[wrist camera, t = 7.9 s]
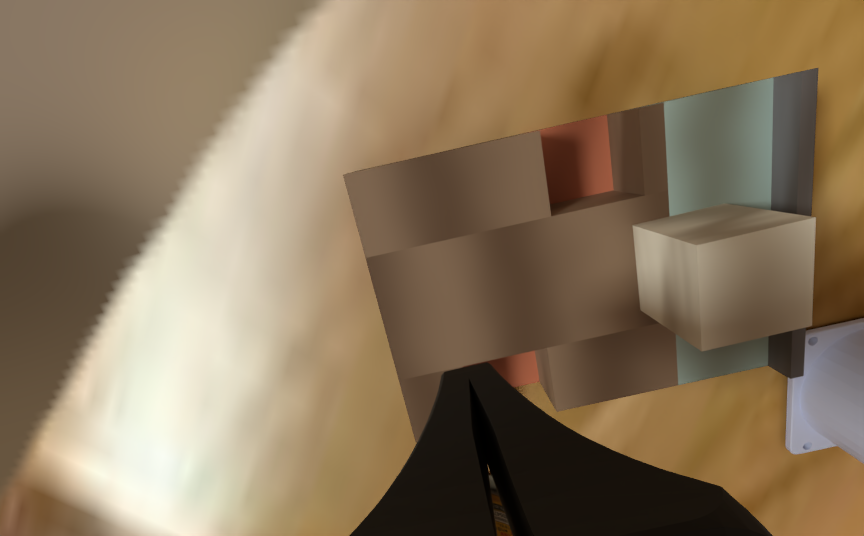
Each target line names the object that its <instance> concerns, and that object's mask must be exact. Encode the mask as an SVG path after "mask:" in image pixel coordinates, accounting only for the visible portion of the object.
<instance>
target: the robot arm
mask: <svg viewBox="0 0 864 536" xmlns="http://www.w3.org/2000/svg"><path fill="white" fill-rule="evenodd" d="M809 339H810V340H809ZM834 446H838V447H840V448H841V449H843V450H844V451H846V452H847V453H849V454H850V455H852V456H853V457H855V458H856V459H857V460H859V461H860V462H862V463H863V464H864V318H861V319H857V320H852V321H848V322H843V323H839V324H834V325H829V326H825V327H820V328H816V329H811V330H807V331H806V336H805V357H804V376H801V377H797V378H792V379H790V378H788V390H787V418H786V448H787V450H789V451H790V452H791V453H793V454H801V453H806V452H811V451H815V450H820V449H824V448H829V447H834ZM487 464H488V465H487ZM488 467H489V469H490V472H491V475H492V478H493V481H494V484H495V487H496V489H497V492H498V495H499V498H500V501H501V504H502V506H503V509H504V512H505V515H506V518H507V521H508V523H509V526H510V529H511V532H512V535H513V536H772V534H771V533H770V532H769V531H768V530H767V529H766V528H765V527H764V526H763V525H762V524H761V523H760V522H759V521H758V520H757V519H756V518H755V517H754V516H753V515H752V514H751V513H750V512H749V511H748V510H747V509H746V508H744V507H743V506H742V505H741V504H740V503H739V502H738V501H736V500H735V499H734V498H733V497H732V496H731V495H730V494H729V493H727V492H726V491H725V490H724V489H723V488H722V487H721V486H717V485H714V484H711V483H707V482H704V481H700V480H697V479H693V478H690V477H686V476H683V475H679V474H676V473H673V472H669V471H666V470H663V469H660V468H657V467H654V466H652V465H649V464H646V463H643V462H641V461H638V460H635V459H633V458H630V457H628V456H625V455H623V454H620V453H618V452H616V451H613V450H611V449H609V448H607V447H605V446H602V445H600V444H598V443H596V442H594V441H592V440H590V439H588V438H586V437H584V436H582V435H580V434H578V433H576V432H575V431H573V430H571V429H570V428H568V427H566V426H564V425H563V424H561V423H560V422H558V421H557V420H555V419H554V418H552V417H551V416H549V415H548V414H546V413H545V412H544V411H542V410H541V409H539V408H538V407H537V406H535V405H534V404H533V403H532V402H530V401H529V400H528V399H527V398H525V397H524V396H523V395H522V394H521V393H519V392H518V391H517V390H516V389H515V388H514V387H512V386H511V385H510V384H509V383H508V382H507V381H506V380H505V379H504V378H503V377H502V376H501V375H500V374H499V373H498V372H497V371H496V370H495V369H494V367H493V366H492V365H491V364H489V363H488V362H486V363H481V364H477V365H472V366H468V367H463V368H458V369H454V370H449V371H445V372H444V373H443V374H442V375H441V380H440V385H439V389H438V393H437V396H436V399H435V402H434V405H433V407H432V410H431V413H430V415H429V418H428V420H427V423H426V425H425V427H424V429H423V431H422V434H421V436H420V438H419V440H418V442H417V444H416V446H415V448H414V450H413V452H412V453H411V455H410V457H409V459H408V460H407V462H406V464H405V465H404V467H403V469H402V470H401V472H400V473H399V475H398V476H397V478H396V479H395V481H394V482H393V483H392V485H391V486H390V488H389V489H388V491H387V492H386V493H385V495H384V496H383V498H382V499H381V500H380V501H379V503H378V504H377V505H376V506H375V508H374V509H373V510H372V511H371V512H370V513H369V515H368V516H367V517H366V518H365V519H364V520H363V521H362V523H361V524H360V525H359V526H358V527H357V528H356V529H355V530H354V531H353V532H352V533H351V535H350V536H497V530H496V523H495V516H494V509H493V501H492V494H491V487H490V480H489V473H488Z"/></svg>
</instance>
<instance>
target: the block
mask: <svg viewBox="0 0 864 536" xmlns="http://www.w3.org/2000/svg"><path fill="white" fill-rule="evenodd" d="M815 228H816V217H811V216H804V215H798V214H791V213H784V212H778V211H771V210H765V209H758V208H752V207H745V206H738V205H732V204H725V203H724V204H720V205H716V206H712V207H707V208H703V209H699V210H695V211H691V212H686V213H682V214H678V215H674V216H670V217H665V218H661V219H657V220H653V221H649V222H644V223H640V224H636V225H633V235H634V246H635V257H636V268H637V278H638V289H639V300H640V310H641V311H642V312H644V313H645V314H647V315H648V316H650V317H651V318H653V319H654V320H656V321H657V322H659V323H660V324H662V325H663V326H665V327H666V328H668V329H669V330H671V331H672V332H674V333H675V334H676V335H678V336H679V337H681V338H682V339H684V340H685V341H687V342H688V343H690V344H691V345H693V346H694V347H696V348H697V349H699V350H700V351H706V350H711V349H715V348H719V347H724V346H728V345H732V344H737V343H741V342H745V341H749V340H754V339H758V338H762V337H767V336H771V335H775V334H780V333H784V332H788V331H792V330H797V329H801V328H805V327H810V326H812V311H813V283H814V256H815Z"/></svg>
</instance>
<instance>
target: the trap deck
mask: <svg viewBox="0 0 864 536" xmlns="http://www.w3.org/2000/svg"><path fill="white" fill-rule="evenodd" d="M817 84H818V68H815V69H810V70H806V71H801V72H796V73H792V74H787V75H783V76H778V77H773V78H769V79H764V80H759V81H755V82H750V83H745V84H741V85H736V86H732V87H727V88H723V89H718V90H714V91H709V92H705V93H701V94H696V95H692V96H687V97H683V98H678V99H674V100H670V101H665V102H661V103H656V104H652V105H647V106H643V107H639V108H634V109H630V110H625V111H621V112H617V113H612V114H608V115H603V116H599V117H594V118H590V119H586V120H581V121H577V122H572V123H568V124H563V125H559V126H555V127H550V128H546V129H541V130H537V131H532V132H528V133H524V134H519V135H515V136H510V137H506V138H501V139H497V140H493V141H488V142H484V143H479V144H475V145H470V146H466V147H462V148H457V149H453V150H448V151H444V152H440V153H435V154H431V155H426V156H422V157H417V158H413V159H409V160H404V161H400V162H395V163H391V164H386V165H382V166H378V167H373V168H369V169H364V170H360V171H355V172H352V173H348V174H344V175H343V176H344V180H345V184H346V187H347V191H348V195H349V198H350V202H351V206H352V209H353V213H354V217H355V221H356V224H357V228H358V232H359V235H360V239H361V243H362V246H363V250H364V254H365V257H366V261H367V265H368V268H369V272H370V276H371V279H372V283H373V287H374V290H375V294H376V298H377V301H378V305H379V309H380V312H381V316H382V320H383V323H384V327H385V331H386V334H387V338H388V342H389V345H390V349H391V353H392V356H393V360H394V364H395V367H396V371H397V375H398V378H399V382H400V386H401V389H402V393H403V397H404V400H405V404H406V408H407V412H408V415H409V419H410V423H411V426H412V430H413V434H414V437H415V441H416V442H418V440H419V438H420V436H421V434H422V431H423V429H424V427H425V425H426V423H427V420H428V418H429V415H430V413H431V410H432V407H433V405H434V402H435V399H436V396H437V393H438V389H439V385H440V380H441V375H442V374H443V373H444V372H445V371H449V370H454V369H458V368H463V367H468V366H472V365H477V364H481V363H486V362H488V363H489V364H491V365H492V366H493V367H494V369H495V370H496V371H497V372H498V373H499V374H500V375H501V376H502V377H503V378H504V379H505V380H506V381H507V382H508V383H509V384H510V385H511V386H512V387H517V386H521V385H526V384H531V383H535V382H540V383H541V385H542V387H543V388H544V390H545V392H546V394H547V395H548V397H549V399H550V401H551V402H552V404H553V406H554V408H555V409H556V411H562V410H567V409H571V408H576V407H580V406H585V405H590V404H594V403H599V402H603V401H608V400H612V399H617V398H622V397H626V396H631V395H635V394H640V393H644V392H649V391H654V390H658V389H663V388H667V387H672V386H676V385H681V384H686V383H690V382H695V381H699V380H704V379H709V378H713V377H718V376H722V375H727V374H731V373H736V372H741V371H745V370H750V369H754V368H759V367H763V366H770V367H771V368H773V369H775V370H776V371H778V372H780V373H782V374H783V375H785V376H787V377H788V378H790V379H792V378H797V377H801V376H804V357H805V336H806V327H805V328H801V329H797V330H792V331H788V332H784V333H780V334H775V335H771V336H767V337H762V338H758V339H754V340H749V341H745V342H741V343H737V344H732V345H728V346H724V347H719V348H715V349H711V350H706V351H700V350H699V349H697V348H696V347H694V346H693V345H691V344H690V343H688V342H687V341H685V340H684V339H682V338H681V337H679V336H678V335H676V334H675V333H674V332H672V331H671V330H669V329H668V328H666V327H665V326H663V325H662V324H660V323H659V322H657V321H656V320H654V319H653V318H651V317H650V316H648V315H647V314H645V313H644V312H642V311H641V310H640V300H639V289H638V278H637V268H636V257H635V246H634V235H633V225H636V224H640V223H644V222H649V221H653V220H657V219H661V218H665V217H670V216H674V215H678V214H682V213H686V212H691V211H695V210H699V209H703V208H707V207H712V206H716V205H720V204H724V203H725V204H732V205H738V206H745V207H752V208H758V209H765V210H771V211H778V212H784V213H791V214H798V215H804V216H811V210H812V189H813V168H814V147H815V126H816V105H817Z"/></svg>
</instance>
